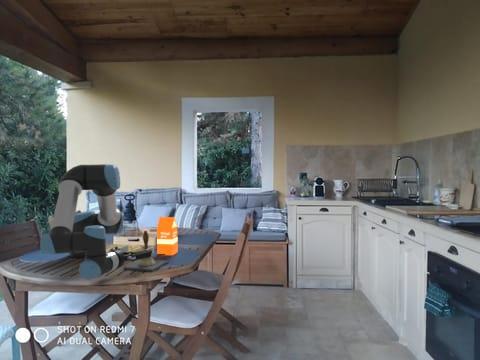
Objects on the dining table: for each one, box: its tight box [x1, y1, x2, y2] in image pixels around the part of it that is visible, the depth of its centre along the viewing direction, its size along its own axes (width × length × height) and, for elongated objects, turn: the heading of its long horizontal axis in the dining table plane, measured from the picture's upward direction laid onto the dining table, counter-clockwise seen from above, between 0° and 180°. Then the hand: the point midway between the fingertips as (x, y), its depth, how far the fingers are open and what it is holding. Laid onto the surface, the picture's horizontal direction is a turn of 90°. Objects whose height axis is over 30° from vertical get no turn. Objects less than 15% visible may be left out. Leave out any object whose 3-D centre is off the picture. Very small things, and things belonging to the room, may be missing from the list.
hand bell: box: [138, 230, 156, 266], centre depth 172 cm, size 8×8×16 cm
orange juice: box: [156, 216, 179, 256], centre depth 197 cm, size 8×9×20 cm
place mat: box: [123, 259, 169, 273], centre depth 173 cm, size 15×15×1 cm
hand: (140, 248), depth 167 cm, fingers open, 13 cm apart
